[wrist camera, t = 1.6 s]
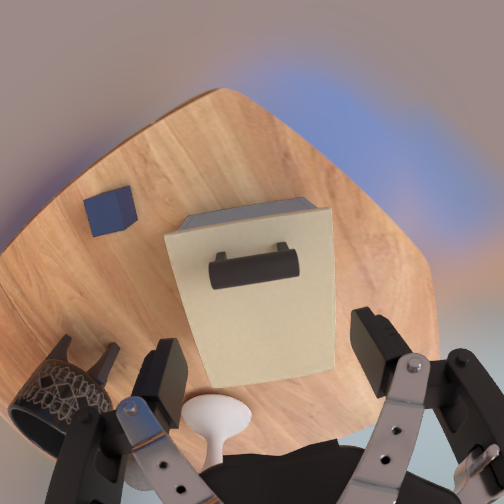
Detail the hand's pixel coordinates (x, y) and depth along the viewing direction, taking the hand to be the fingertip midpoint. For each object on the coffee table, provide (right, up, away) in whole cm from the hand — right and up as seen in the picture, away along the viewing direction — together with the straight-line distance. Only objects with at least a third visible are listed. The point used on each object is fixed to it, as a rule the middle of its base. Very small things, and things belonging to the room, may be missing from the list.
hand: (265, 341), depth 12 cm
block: (-16, +9, +16) cm, 24 cm away
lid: (0, -1, +12) cm, 12 cm away
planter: (-25, -12, +24) cm, 37 cm away
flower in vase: (-6, -21, +29) cm, 36 cm away
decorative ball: (-26, -43, +36) cm, 62 cm away
